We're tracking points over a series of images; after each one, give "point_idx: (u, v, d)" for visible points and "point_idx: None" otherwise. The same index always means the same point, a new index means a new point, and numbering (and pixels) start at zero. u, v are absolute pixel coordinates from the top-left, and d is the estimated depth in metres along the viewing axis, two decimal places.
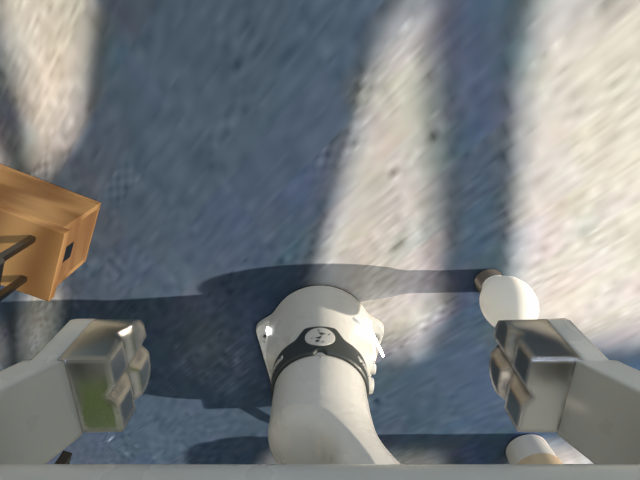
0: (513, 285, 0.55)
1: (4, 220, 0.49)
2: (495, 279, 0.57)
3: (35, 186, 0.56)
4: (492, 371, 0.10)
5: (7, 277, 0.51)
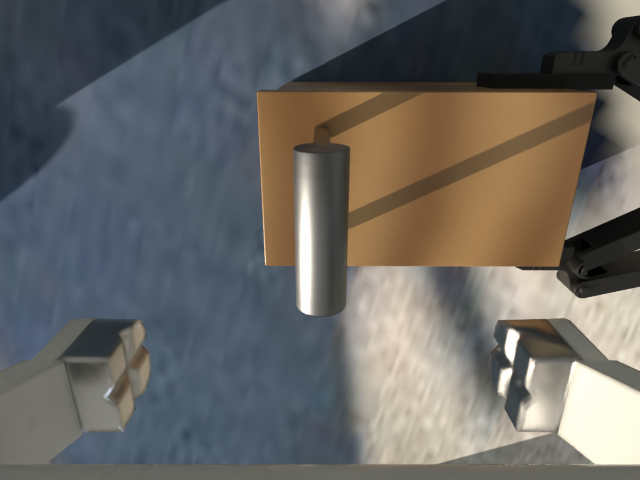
0: None
1: (378, 248, 0.25)
2: None
3: None
4: (492, 371, 0.10)
5: (357, 119, 0.22)
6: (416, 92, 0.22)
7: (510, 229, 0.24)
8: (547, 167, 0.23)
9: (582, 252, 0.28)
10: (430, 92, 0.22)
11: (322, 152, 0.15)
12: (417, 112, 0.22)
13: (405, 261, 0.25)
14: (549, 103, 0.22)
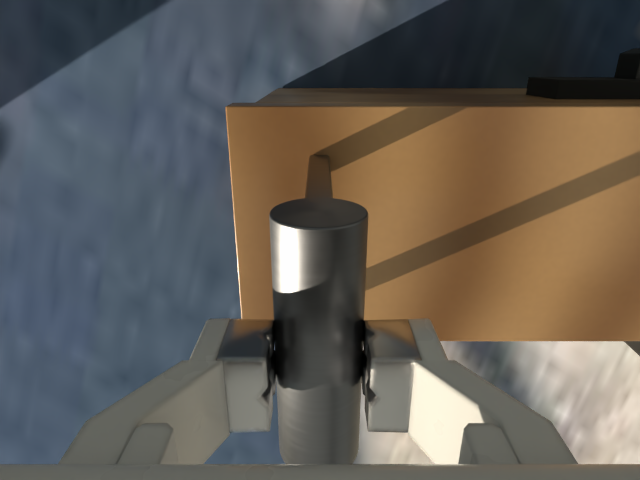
0: None
1: None
2: None
3: None
4: (361, 371, 0.10)
5: (371, 145, 0.15)
6: (456, 107, 0.15)
7: (580, 294, 0.18)
8: (637, 211, 0.16)
9: None
10: (476, 107, 0.15)
11: (319, 227, 0.08)
12: (456, 136, 0.15)
13: None
14: None
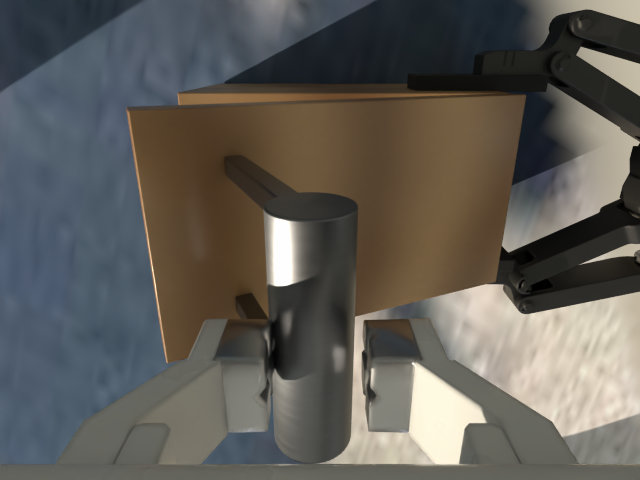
0: None
1: None
2: None
3: None
4: (362, 371, 0.10)
5: (282, 142, 0.16)
6: (352, 102, 0.17)
7: (453, 252, 0.21)
8: (485, 179, 0.21)
9: (525, 265, 0.27)
10: (368, 101, 0.17)
11: (330, 217, 0.09)
12: (354, 128, 0.17)
13: None
14: (485, 108, 0.19)
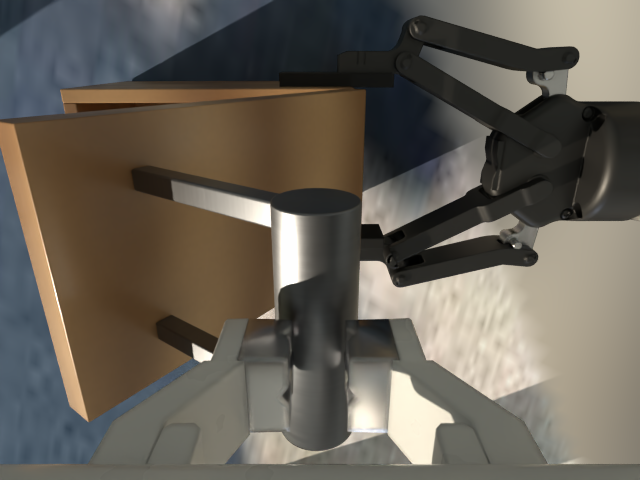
0: None
1: (232, 311, 0.19)
2: None
3: None
4: None
5: (186, 147, 0.15)
6: (243, 102, 0.17)
7: None
8: (346, 165, 0.23)
9: (396, 243, 0.30)
10: (256, 100, 0.17)
11: (351, 207, 0.09)
12: (248, 128, 0.17)
13: (259, 311, 0.20)
14: (341, 102, 0.22)
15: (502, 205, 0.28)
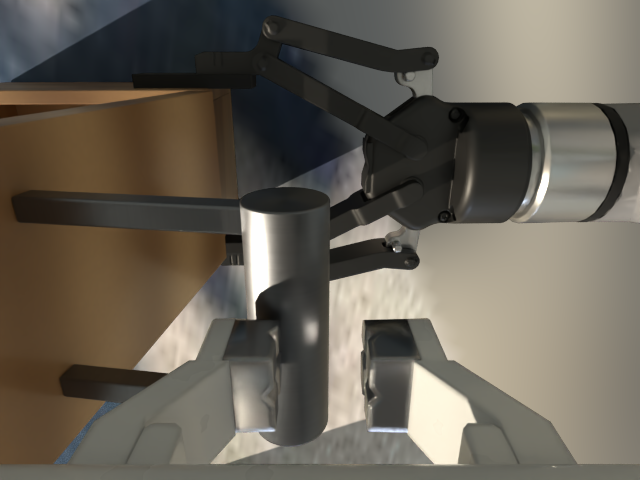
0: None
1: (131, 343, 0.17)
2: None
3: None
4: (361, 371, 0.10)
5: (65, 164, 0.13)
6: (113, 108, 0.15)
7: (202, 242, 0.23)
8: (206, 169, 0.23)
9: None
10: (124, 106, 0.15)
11: (326, 200, 0.10)
12: (121, 137, 0.15)
13: (154, 337, 0.18)
14: (195, 105, 0.21)
15: (375, 208, 0.27)
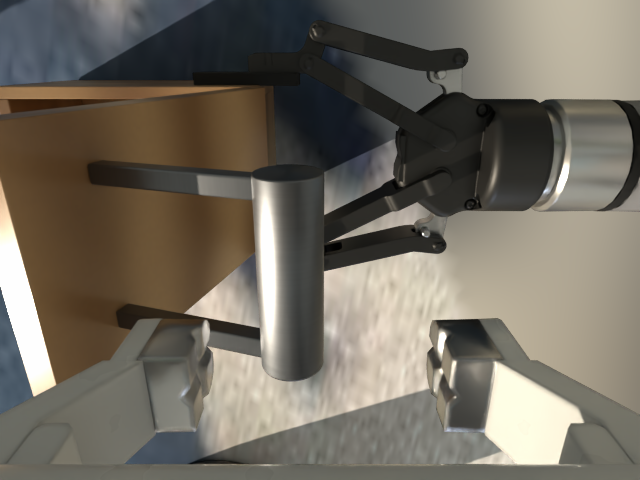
0: None
1: (176, 296, 0.20)
2: None
3: None
4: (428, 371, 0.10)
5: (130, 142, 0.16)
6: (172, 99, 0.18)
7: (248, 221, 0.26)
8: (255, 157, 0.25)
9: None
10: (182, 98, 0.19)
11: (319, 174, 0.12)
12: (177, 123, 0.18)
13: (198, 295, 0.21)
14: (247, 99, 0.24)
15: (406, 195, 0.30)
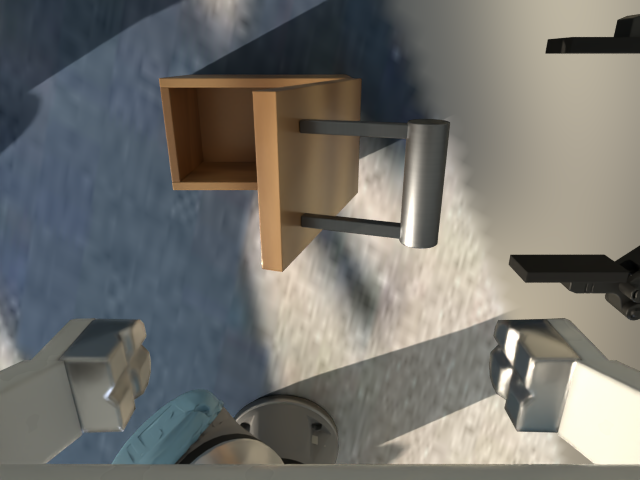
0: None
1: None
2: None
3: None
4: (492, 371, 0.10)
5: (312, 109, 0.26)
6: (326, 84, 0.28)
7: (349, 175, 0.35)
8: None
9: (632, 275, 0.29)
10: (329, 83, 0.28)
11: (448, 122, 0.22)
12: (327, 100, 0.28)
13: None
14: (354, 86, 0.33)
15: None
